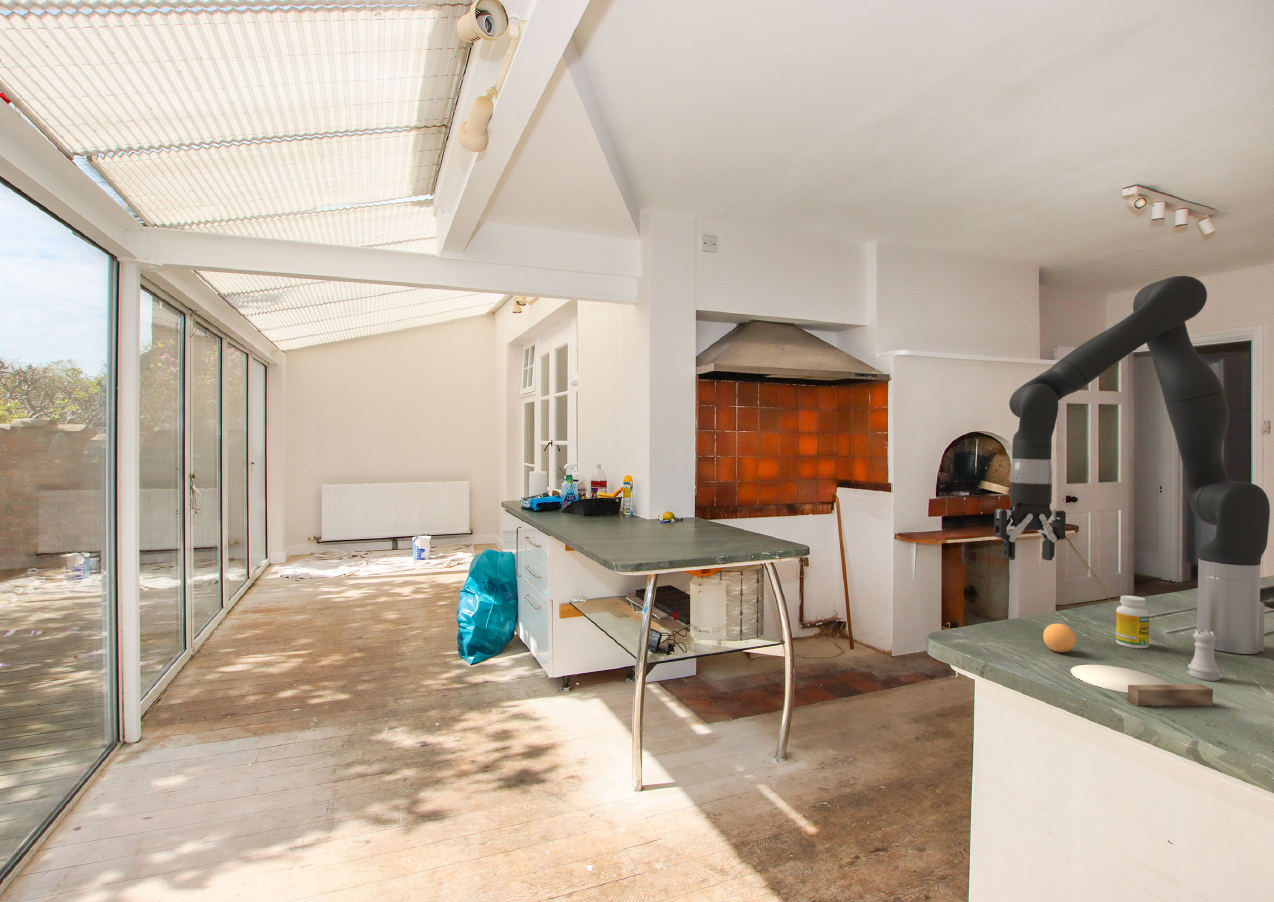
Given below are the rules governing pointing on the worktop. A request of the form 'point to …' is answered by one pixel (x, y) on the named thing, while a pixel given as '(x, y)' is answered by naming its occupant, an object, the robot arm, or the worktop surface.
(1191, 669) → the rook chess piece
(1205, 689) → the rail
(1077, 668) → the disc
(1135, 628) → the supplement bottle
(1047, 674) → the worktop surface
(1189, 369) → the robot arm
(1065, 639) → the egg
